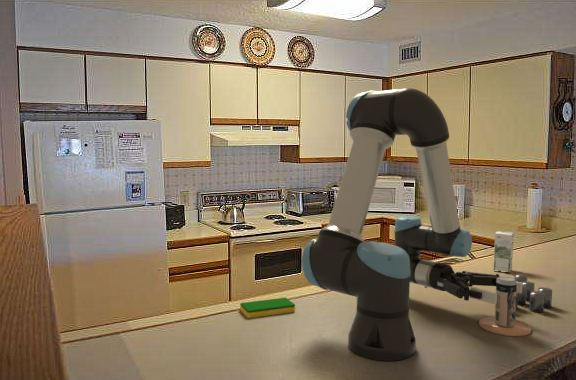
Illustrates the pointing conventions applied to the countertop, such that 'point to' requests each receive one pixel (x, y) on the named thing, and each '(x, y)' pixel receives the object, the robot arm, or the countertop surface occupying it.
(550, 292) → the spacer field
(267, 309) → the dish sponge
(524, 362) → the countertop surface
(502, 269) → the syrup box
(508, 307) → the beer can
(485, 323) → the peach disc
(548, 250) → the countertop surface
